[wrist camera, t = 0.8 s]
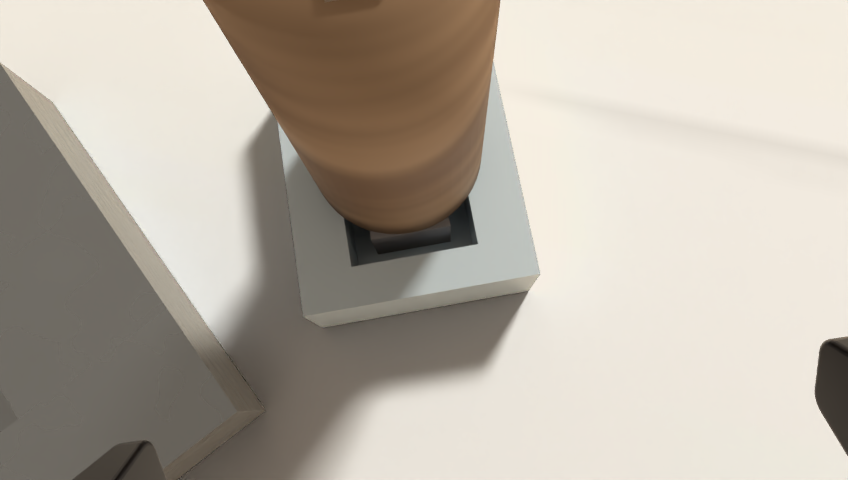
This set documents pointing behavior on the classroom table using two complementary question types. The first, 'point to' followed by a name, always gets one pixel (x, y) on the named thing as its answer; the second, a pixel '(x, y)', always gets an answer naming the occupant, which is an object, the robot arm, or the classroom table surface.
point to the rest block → (418, 267)
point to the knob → (376, 101)
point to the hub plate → (93, 317)
